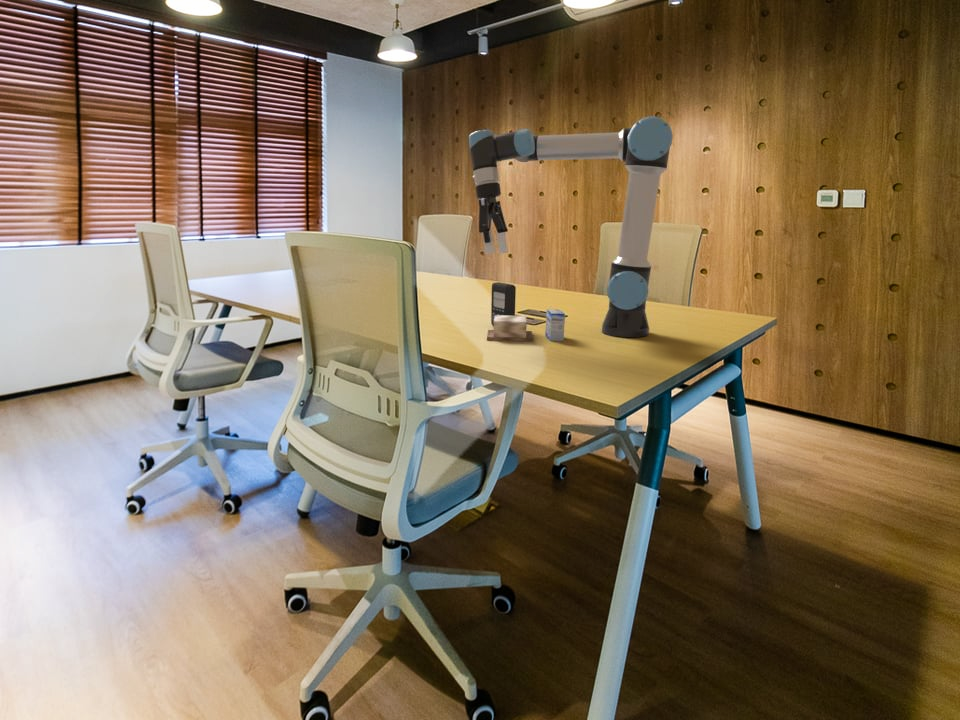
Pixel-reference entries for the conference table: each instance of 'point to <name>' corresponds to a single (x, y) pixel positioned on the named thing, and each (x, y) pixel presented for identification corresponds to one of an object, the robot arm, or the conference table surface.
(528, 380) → the conference table surface
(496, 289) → the card reader
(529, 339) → the build base
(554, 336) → the medicine box
